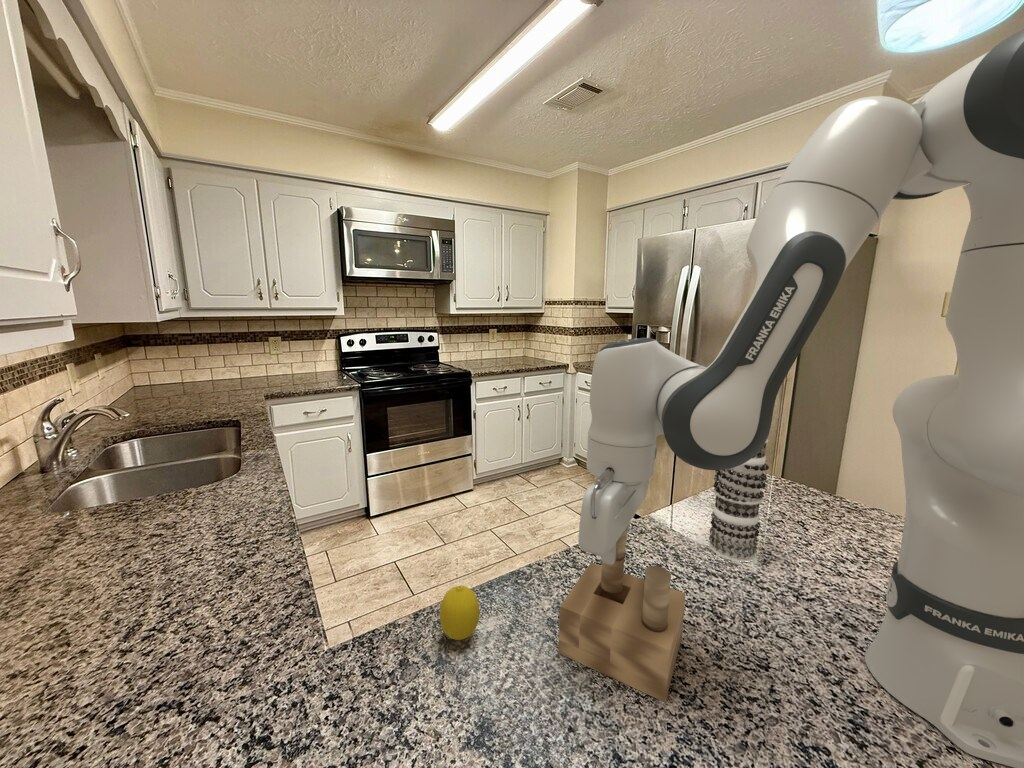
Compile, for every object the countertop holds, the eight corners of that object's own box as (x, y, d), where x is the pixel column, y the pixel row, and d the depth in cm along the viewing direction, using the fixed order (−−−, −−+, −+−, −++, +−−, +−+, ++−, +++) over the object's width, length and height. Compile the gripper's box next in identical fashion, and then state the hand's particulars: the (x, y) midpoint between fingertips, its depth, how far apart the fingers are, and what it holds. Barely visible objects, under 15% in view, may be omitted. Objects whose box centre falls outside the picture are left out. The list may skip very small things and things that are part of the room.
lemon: (472, 657, 55) (472, 602, 54) (433, 649, 56) (433, 596, 55) (483, 627, 60) (484, 577, 59) (448, 621, 61) (447, 572, 60)
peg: (625, 584, 59) (630, 505, 57) (619, 596, 56) (624, 514, 54) (604, 576, 60) (608, 499, 58) (597, 588, 58) (601, 508, 56)
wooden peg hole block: (681, 637, 59) (689, 547, 57) (665, 702, 49) (674, 595, 47) (589, 602, 66) (593, 521, 64) (558, 652, 56) (561, 558, 54)
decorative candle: (758, 546, 84) (771, 427, 80) (759, 569, 76) (774, 438, 72) (708, 534, 88) (719, 421, 84) (704, 555, 80) (716, 431, 76)
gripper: (621, 489, 45) (614, 604, 47) (659, 444, 62) (653, 529, 64) (567, 477, 48) (563, 585, 50) (618, 437, 65) (613, 518, 67)
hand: (614, 553), depth 57 cm, fingers closed on peg, 3 cm apart
